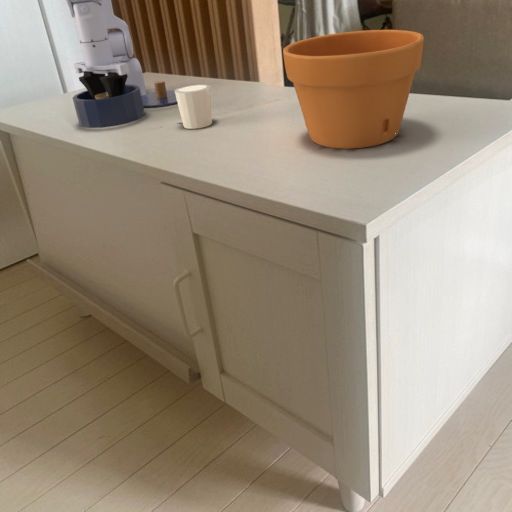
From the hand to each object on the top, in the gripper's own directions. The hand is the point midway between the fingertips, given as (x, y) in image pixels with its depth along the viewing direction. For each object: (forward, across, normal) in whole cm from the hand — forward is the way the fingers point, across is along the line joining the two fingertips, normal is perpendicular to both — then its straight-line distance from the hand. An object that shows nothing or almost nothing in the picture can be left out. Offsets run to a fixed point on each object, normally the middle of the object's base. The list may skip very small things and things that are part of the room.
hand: (110, 109), depth 114 cm
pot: (+2, 0, 0) cm, 2 cm away
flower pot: (+3, +54, +6) cm, 54 cm away
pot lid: (+2, 0, +16) cm, 16 cm away
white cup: (+3, +21, +3) cm, 22 cm away
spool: (+1, 0, 0) cm, 1 cm away
